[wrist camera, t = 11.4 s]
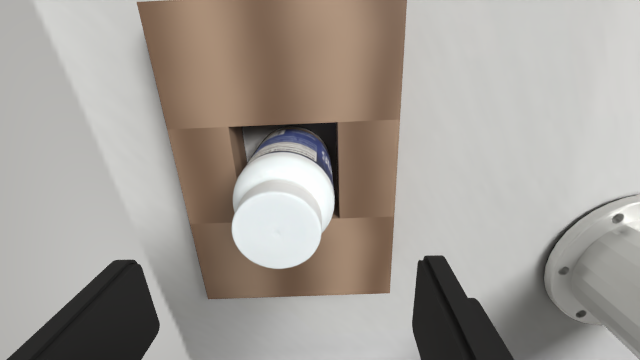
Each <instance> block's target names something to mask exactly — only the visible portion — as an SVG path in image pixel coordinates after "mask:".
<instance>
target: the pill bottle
mask: <svg viewBox="0 0 640 360" xmlns="http://www.w3.org/2000/svg"><path fill="white" fill-rule="evenodd" d="M334 204H335V200H334V187H333V178H332V169H331V161H330V156H329V152H328V149H327V147H326V145H325V144H324V142H323V141H322V140H321V139H320V137H318V136H317V135H316V134H314V133H313V132H311V131H309V130H307V129H304V128H300V127H284V128H281V129H278V130H276V131H274V132H272V133H271V134H270V135H268V136H267V137H266V138H265V139H264V141H263V142H262V143H261V144H260V146H259V147H258V149H257V150H256V152H255V153H254V155H253V156H252V158H251V159H250V160H249V162H248V163H247V165H246V166H245V168H244V169H243V171H242V172H241V174H240V175H239V177H238V179H237V182H236V184H235V187H234V192H233V208H234V212H235V214H234V217H233V220H232V236H233V240H234V242H235V244H236V246H237V247H238V249H239V250H240V252H241V253H242V254H243V255H244V256H245V257H247V258H248V259H249V260H251V261H252V262H254V263H256V264H258V265H261V266H264V267H267V268H273V269H284V268H290V267H294V266H297V265H299V264H301V263H303V262H305V261H306V260H307V259H309V258H310V257H311V256H312V255H313V254H314V252H315V251H316V249H317V247H318V245H319V243H320V240H321V234H322V233H323V231H324V230H325V229H326V228H327V226H328V224H329V223H330V221H331V218H332V215H333V211H334Z"/></svg>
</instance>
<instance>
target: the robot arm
mask: <svg viewBox="0 0 640 360" xmlns="http://www.w3.org/2000/svg"><path fill="white" fill-rule="evenodd" d="M544 282H545V289H546V291H547V293H548V295H549V298H550V299H551V300H552V301H553V302H554V303H555V305H556V306H557V307H558V308H559V309H560V310H561V311H562V312H563V313H565V314H566V315H567V316H569V317H570V318H572V319H574V320H577V321H580V322H583V323H587V324H595V325H604V326H605V327H606V328H607V329H608V330H609V331H610V332H611V333H612V334H613V335H614V336H615V337H616V338H617V339H618V340H619V341H621V342H622V343H623V344H624V345H625V346H626V347H627V348H628V349H629V350H630V351H631V352H632V353H633V354H634V355H635V356H636V357H637V358H638V359H639V360H640V195H636V196H631V197H626V198H623V199H620V200H617V201H614V202H611V203H608V204H606V205H604V206H602V207H600V208H598V209H596V210H594V211H592V212H591V213H590V214H588V215H587V216H585V217H584V218H582V219H581V220H579V221H578V222H577V223H576V224H574V225H573V226H572V227H571V228H570V229H569V230H568V231H567V232H566V233H565V234H564V235H563V236H562V238H561V239H560V240H559V241H558V242H557V244H556V245H555V247H554V249H553V250H552V252H551V254H550V256H549V259H548V261H547V264H546V267H545V275H544ZM159 326H160V324H159V320H158V317H157V314H156V311H155V308H154V305H153V301H152V298H151V295H150V292H149V289H148V285H147V283H146V279H145V276H144V273H143V270H142V267H141V265H139V264H137V262H136V261H135V260H115V261H113V262H112V263H111V264H109V265H108V266H107V267H106V268H105V269H104V270H103V271H102V272H101V273H100V274H99V275H98V276H97V277H95V278H94V279H93V280H92V281H91V282H90V283H89V284H88V285H87V286H86V287H85V288H84V289H83V290H82V291H80V293H78V294H77V295H76V296H75V297H74V298H73V299H72V300H71V301H70V302H69V303H67V304H66V305H65V306H64V307H63V308H62V309H61V310H60V311H59V312H58V313H57V314H56V315H55V316H53V317H52V318H51V319H50V320H49V321H48V322H47V323H46V324H45V325H44V326H43V327H42V328H41V329H39V331H37V332H36V333H35V334H34V335H33V336H32V337H31V338H30V339H29V340H28V341H26V342H25V343H24V344H23V345H22V346H21V347H20V348H19V349H18V350H17V351H16V352H15V353H13V354H12V355H11V356H10V357H9V358H8V359H7V360H141V359H142V358H143V356H144V354H145V352H146V351H147V350H148V348H149V346H150V345H151V343H152V342H153V340H154V339H155V337H156V335H157V334H158V331H159ZM412 327H413V333H414V337H415V340H416V344H417V347H418V350H419V354H420V357H421V360H514V359H513V357H512V355H511V354H510V352H509V351H508V349H507V347H506V346H505V344H504V342H503V341H502V339H501V337H500V336H499V334H498V332H497V331H496V329H495V327H494V326H493V324H492V322H491V321H490V319H489V318H488V316H487V314H486V313H485V311H484V309H483V308H482V306H481V304H480V303H479V302H478V300H476V299H475V298H468V297H467V296H466V294H465V292H464V290H463V289H462V287H461V285H460V283H459V282H458V280H457V278H456V276H455V275H454V273H453V271H452V269H451V268H450V266H449V264H448V262H447V261H446V259H445V257H444V256H424V259H423V260H419V261H418V267H417V277H416V288H415V299H414V309H413V320H412Z"/></svg>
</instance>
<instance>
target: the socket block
mask: <svg viewBox="0 0 640 360" xmlns="http://www.w3.org/2000/svg"><path fill="white" fill-rule="evenodd" d="M137 5H138V10H139V14H140V18H141V22H142V26H143V30H144V35H145V39H146V43H147V47H148V51H149V55H150V60H151V64H152V68H153V72H154V76H155V80H156V85H157V89H158V93H159V97H160V101H161V105H162V109H163V114H164V118H165V122H166V126H167V130H168V134H169V139H170V143H171V147H172V151H173V155H174V159H175V164H176V168H177V172H178V176H179V180H180V184H181V189H182V193H183V197H184V201H185V205H186V209H187V214H188V218H189V222H190V226H191V230H192V234H193V238H194V243H195V247H196V251H197V255H198V259H199V263H200V268H201V272H202V276H203V280H204V284H205V288H206V293H207V297H208V299H228V298H258V297H288V296H318V295H348V294H379V293H390V278H391V261H392V244H393V227H394V210H395V193H396V176H397V159H398V142H399V125H400V108H401V91H402V74H403V57H404V40H405V23H406V6H407V0H168V1H148V2H137ZM330 122H336V160H337V199H334V200H335V204H334V211H333V215H332V218H331V221H330V223H329V224H328V226H327V228H326V229H325V230H324V231H323V233H322V234H321V240H320V243H319V245H318V247H317V249H316V251H315V252H314V254H313V255H312V256H311V257H310V258H309V259H307V260H306V261H305V262H303V263H301V264H299V265H297V266H294V267H290V268H284V269H273V268H267V267H264V266H261V265H258V264H256V263H254V262H252V261H251V260H249V259H248V258H247V257H245V256H244V255H243V254H242V253H241V252H240V250H239V249H238V247H237V246H236V244H235V242H234V240H233V236H232V220H233V217H234V214H235V212H234V208H233V192H234V187H235V184H236V182H237V179H238V177H239V175H240V174H241V172H242V171H243V169H244V168H245V166H246V165H247V160H246V153H245V146H244V139H243V132H242V126H260V125H283V124H307V123H330Z"/></svg>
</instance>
